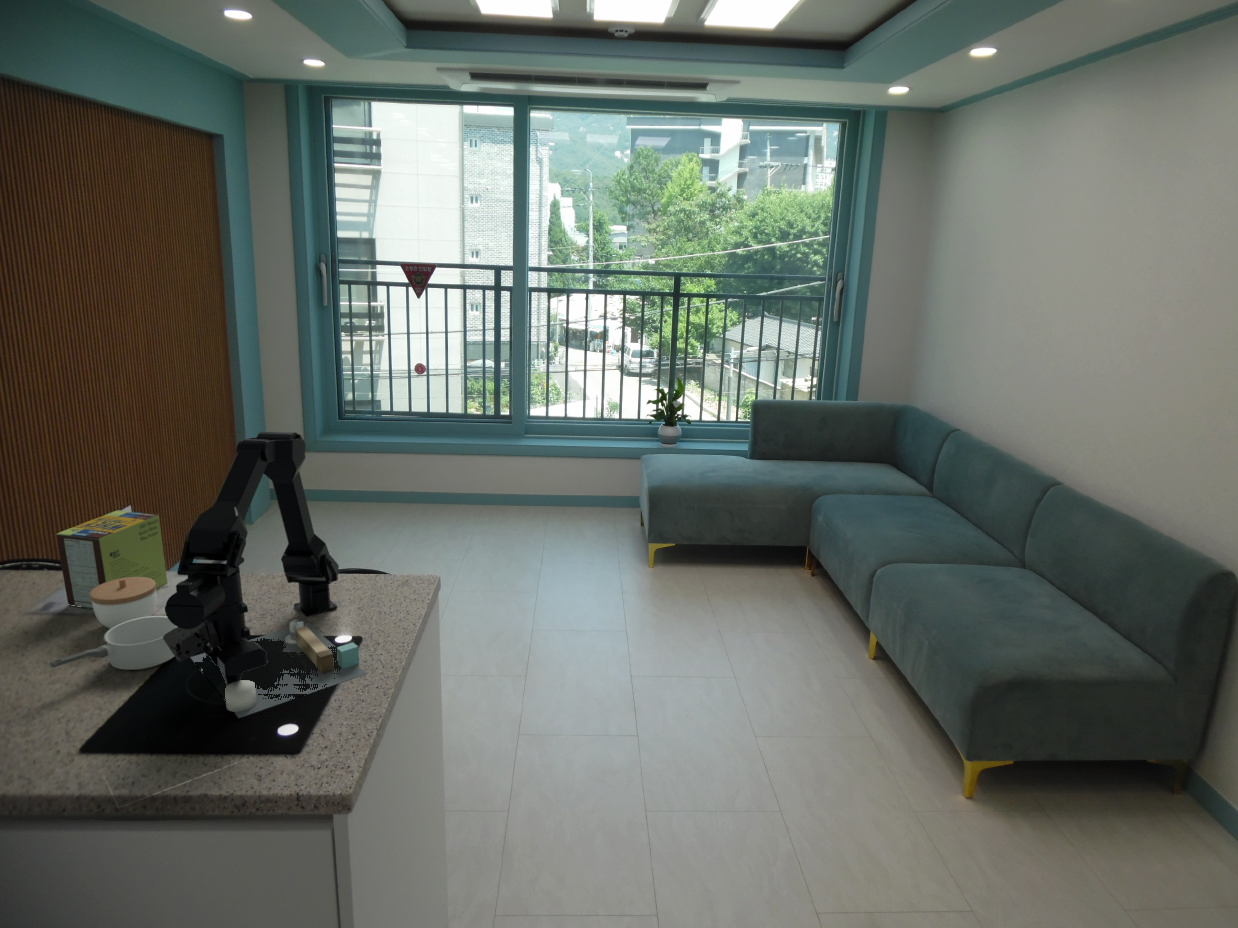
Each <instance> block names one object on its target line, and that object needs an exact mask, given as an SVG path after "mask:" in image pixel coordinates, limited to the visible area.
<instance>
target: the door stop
mask: <svg viewBox="0 0 1238 928" xmlns="http://www.w3.org/2000/svg"><path fill="white" fill-rule="evenodd" d="M225 699H226V702H225V706H226V710H227V711H229V712H240V711H245V710H248V709H250V708H252V707H253V706H255V705H256V703H257V698H256V689H255V683H254V682H253V681H250V680H240V681H236V682H233V683H231V684H229V685H228V686H226V688H225Z"/></svg>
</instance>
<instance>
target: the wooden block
mask: <svg viewBox="0 0 1238 928" xmlns="http://www.w3.org/2000/svg"><path fill="white" fill-rule="evenodd" d="M295 633H296V644H297V645H298V646H299V648H300V649H301V650H302V651H303V652H304V653H305V654H306V655H307V657H308V658H309V659H310V660H311V661H312V662H313V663H314V664H315V666H316V667H317V669H318V670H319V671H320V672H321V673H324V672H328V671H331V670H334V658H333V653H332V652H331V651H330V650H329V649H328V648H327V647H326V646H325V645H324V644H323V643H322V642H321V641H320V640H319V639H318V638H317V637H316V636H315V635H314V634H313V633H312V632H311V631H310V630H309V628H308V627H307V626H305V627H301V628H298V629H295Z"/></svg>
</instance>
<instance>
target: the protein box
mask: <svg viewBox="0 0 1238 928" xmlns="http://www.w3.org/2000/svg"><path fill="white" fill-rule="evenodd" d="M160 524H161V523H160V517H159V514H156V513H155V514H154V513H147V512H146V513H145V512H136V511H127V510H121V509H120V510H119V509H118V510H115V511H111V512H109V513H107V514H104V515H102V516H99V517H97V518H96V517H95V518H93V519H90V520H88V521H85V522H83V523H80V524H78V525H76V526H73V527H70V528H67V529H65V530H62V531H60V532H58V533H56V534H55V535H56V543H57V548H58V554H59V559H60V565H61V571H62V576H63V583H64V589H65V593H66V600H67V605H68V604H70V605H75V606H81V607H85V608H84V609H87V608H90V609H89V610H93V606H92V601H91V599H90V592H91V590H92V589H94V588H95V587H96V586H98V585H100V584H103V583H105V582H108V581H112V580H116V579H120V578H127V577H146V578H150V579H153V580H154V581H155V582H156V589H157V588H161V587H162V586H164V585H165V584H167V583H168V578H167V570H166V569H167V568H166V561H165V555H164V545H163V538H162V532H161V531H162V530H161V525H160Z"/></svg>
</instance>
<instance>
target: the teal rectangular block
mask: <svg viewBox="0 0 1238 928" xmlns="http://www.w3.org/2000/svg"><path fill="white" fill-rule="evenodd" d="M336 647H337V646H336ZM337 661H338V665H339V666H340V667H341V668H342V669H345V668H347V667H350V666H353V665H356V664H357V665H359V664H360V656H359V646H358V645H357V644H356V643H355V642H353V641H352V642H350V643H346V644H343V645H340V646H338V647H337Z"/></svg>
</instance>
